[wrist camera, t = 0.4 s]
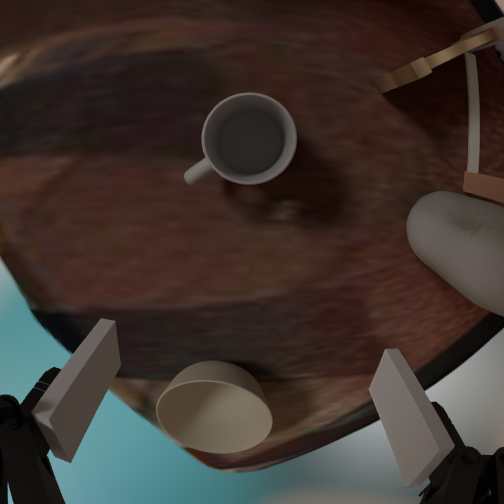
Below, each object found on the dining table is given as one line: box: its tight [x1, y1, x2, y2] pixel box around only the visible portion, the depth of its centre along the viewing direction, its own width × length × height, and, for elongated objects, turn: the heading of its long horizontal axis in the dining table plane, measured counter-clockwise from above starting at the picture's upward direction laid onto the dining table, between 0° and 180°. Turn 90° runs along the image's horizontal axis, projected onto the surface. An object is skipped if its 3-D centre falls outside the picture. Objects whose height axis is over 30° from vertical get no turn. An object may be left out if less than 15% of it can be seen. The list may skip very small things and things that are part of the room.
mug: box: [184, 93, 297, 185], centre depth 31 cm, size 12×8×11 cm
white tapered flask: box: [406, 191, 504, 317], centre depth 26 cm, size 10×10×28 cm
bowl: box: [156, 361, 273, 453], centre depth 42 cm, size 16×16×10 cm
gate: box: [375, 25, 504, 93], centre depth 26 cm, size 18×2×10 cm, turn 124°
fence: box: [460, 17, 504, 203], centre depth 28 cm, size 26×3×12 cm, turn 179°
